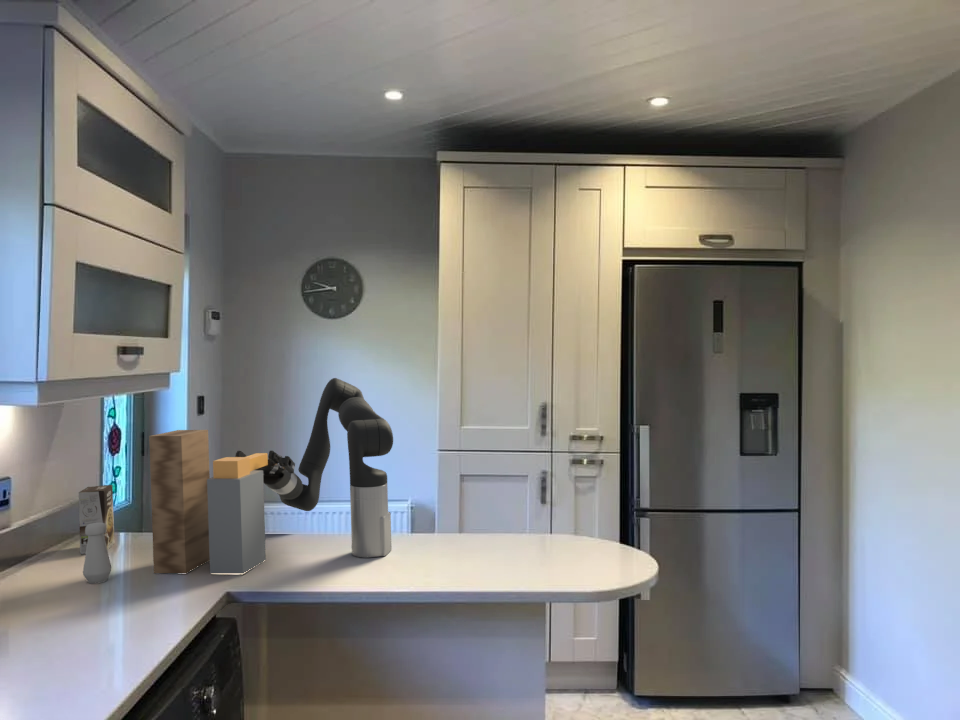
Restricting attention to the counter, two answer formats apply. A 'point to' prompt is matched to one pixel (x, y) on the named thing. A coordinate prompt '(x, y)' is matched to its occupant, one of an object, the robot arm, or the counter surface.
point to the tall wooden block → (179, 500)
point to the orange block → (238, 465)
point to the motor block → (236, 523)
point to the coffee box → (96, 512)
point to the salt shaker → (96, 554)
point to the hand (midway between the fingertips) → (254, 454)
